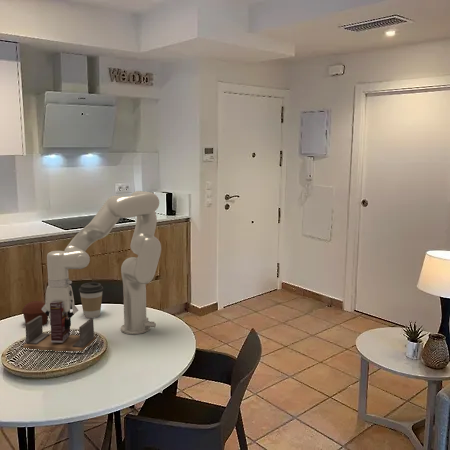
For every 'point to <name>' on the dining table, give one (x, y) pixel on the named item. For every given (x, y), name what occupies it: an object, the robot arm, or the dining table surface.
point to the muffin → (34, 311)
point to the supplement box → (58, 323)
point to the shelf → (72, 343)
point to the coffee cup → (91, 299)
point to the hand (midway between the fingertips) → (60, 327)
